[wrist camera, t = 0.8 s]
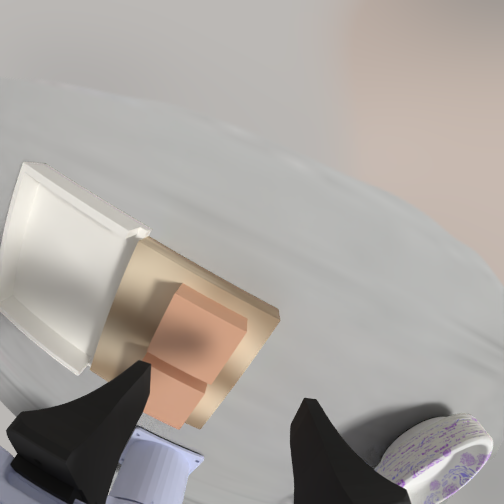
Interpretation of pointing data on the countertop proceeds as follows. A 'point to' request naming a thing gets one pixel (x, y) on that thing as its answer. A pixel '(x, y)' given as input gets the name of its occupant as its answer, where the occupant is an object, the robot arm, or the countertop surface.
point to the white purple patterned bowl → (437, 457)
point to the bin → (63, 263)
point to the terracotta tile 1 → (172, 392)
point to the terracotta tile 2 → (197, 334)
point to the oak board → (154, 307)
